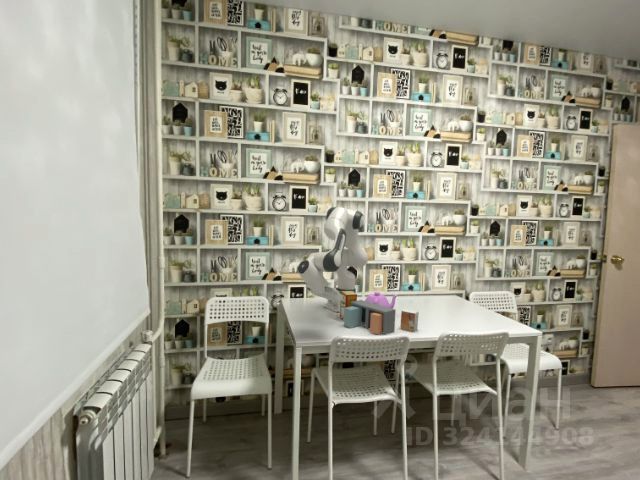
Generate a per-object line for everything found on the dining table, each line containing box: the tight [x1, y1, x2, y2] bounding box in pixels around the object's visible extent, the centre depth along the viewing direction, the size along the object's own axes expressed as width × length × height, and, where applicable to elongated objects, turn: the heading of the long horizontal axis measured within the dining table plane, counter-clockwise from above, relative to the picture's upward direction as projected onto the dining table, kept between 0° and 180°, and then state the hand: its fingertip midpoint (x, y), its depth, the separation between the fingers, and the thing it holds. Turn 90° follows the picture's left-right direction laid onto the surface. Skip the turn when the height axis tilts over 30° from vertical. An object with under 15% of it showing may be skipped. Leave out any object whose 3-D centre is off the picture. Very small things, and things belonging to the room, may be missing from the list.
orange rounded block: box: [369, 312, 384, 335], centre depth 217 cm, size 9×5×10 cm, turn 132°
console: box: [351, 299, 397, 335], centre depth 225 cm, size 8×25×12 cm, turn 42°
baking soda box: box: [339, 291, 358, 321], centre depth 239 cm, size 10×6×16 cm
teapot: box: [364, 291, 399, 309], centre depth 251 cm, size 22×22×14 cm
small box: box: [399, 308, 420, 333], centre depth 223 cm, size 8×6×10 cm
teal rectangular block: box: [343, 306, 363, 329], centre depth 226 cm, size 9×5×10 cm, turn 132°
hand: (332, 301), depth 213 cm, fingers closed
